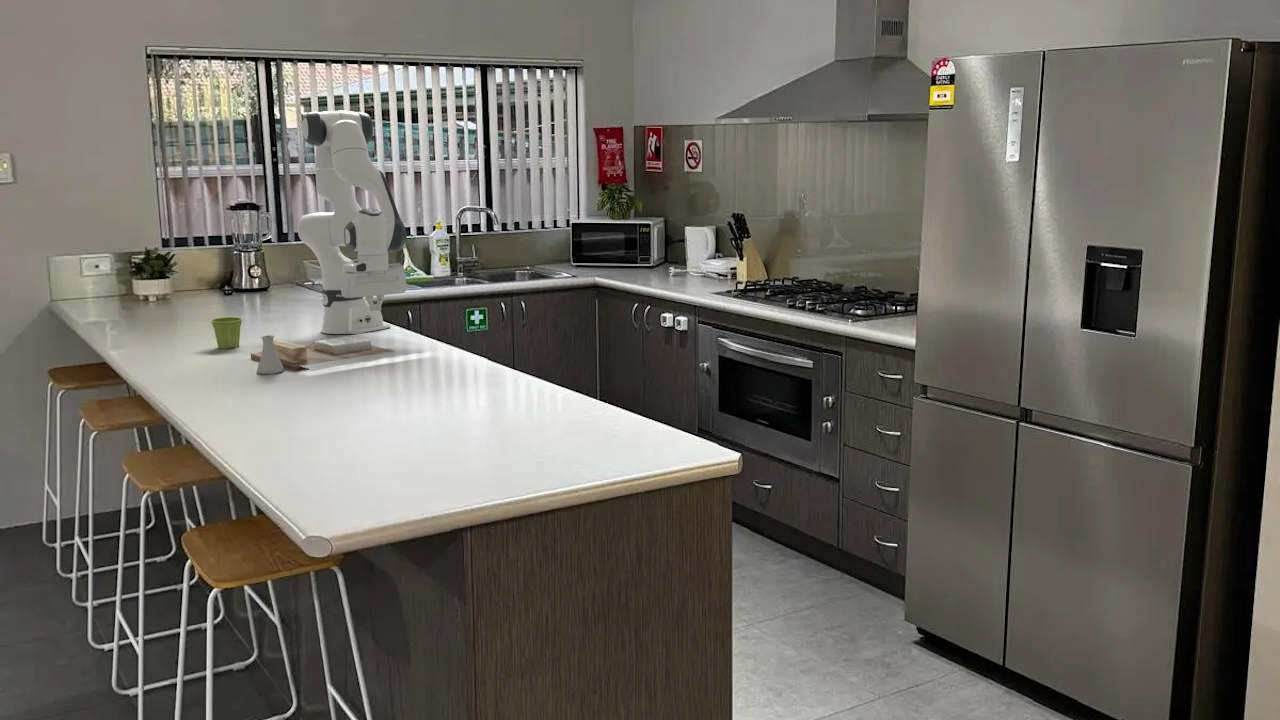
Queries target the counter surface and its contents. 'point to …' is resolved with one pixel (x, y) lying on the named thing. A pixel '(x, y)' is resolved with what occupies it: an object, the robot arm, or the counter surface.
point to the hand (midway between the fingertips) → (375, 310)
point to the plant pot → (227, 331)
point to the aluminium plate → (342, 345)
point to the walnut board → (323, 357)
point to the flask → (269, 358)
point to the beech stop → (290, 351)
